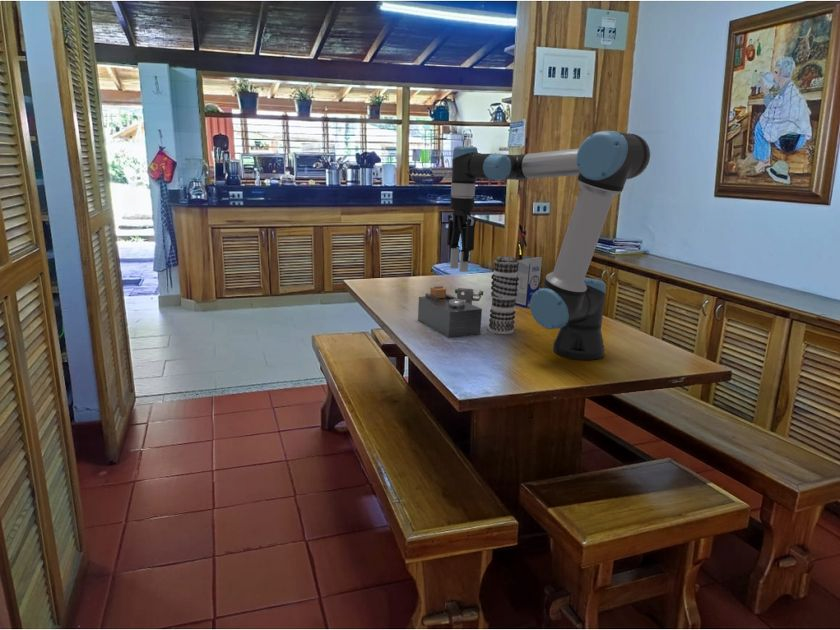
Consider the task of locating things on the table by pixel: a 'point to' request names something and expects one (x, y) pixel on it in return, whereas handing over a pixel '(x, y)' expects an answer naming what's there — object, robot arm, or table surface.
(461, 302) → the pin
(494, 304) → the decorative candle
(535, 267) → the milk carton
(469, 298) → the mechanical component
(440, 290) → the block
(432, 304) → the hitch block
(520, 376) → the table surface
